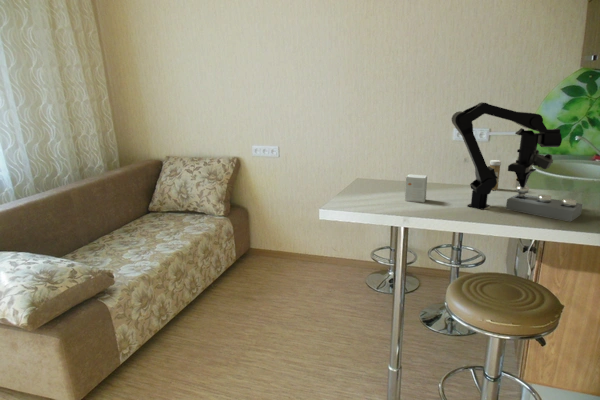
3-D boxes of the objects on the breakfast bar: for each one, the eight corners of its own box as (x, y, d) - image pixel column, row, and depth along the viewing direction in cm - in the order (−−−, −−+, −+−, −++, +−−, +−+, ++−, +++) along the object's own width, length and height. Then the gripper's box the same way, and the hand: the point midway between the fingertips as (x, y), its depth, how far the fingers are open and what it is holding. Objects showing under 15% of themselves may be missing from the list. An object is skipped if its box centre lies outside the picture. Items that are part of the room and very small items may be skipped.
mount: (570, 221, 142) (572, 210, 141) (505, 209, 158) (507, 199, 157) (580, 214, 150) (582, 204, 149) (517, 202, 166) (519, 193, 165)
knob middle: (547, 210, 151) (549, 198, 149) (534, 208, 154) (536, 196, 153) (551, 208, 154) (553, 196, 152) (538, 206, 157) (540, 194, 155)
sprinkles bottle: (499, 189, 188) (503, 160, 184) (494, 190, 185) (497, 161, 182) (490, 187, 191) (493, 159, 188) (485, 188, 189) (488, 160, 185)
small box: (426, 199, 173) (427, 175, 170) (424, 202, 168) (425, 178, 166) (407, 197, 177) (408, 173, 174) (404, 200, 172) (405, 176, 169)
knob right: (572, 215, 145) (574, 202, 144) (558, 213, 148) (560, 200, 147) (575, 212, 148) (578, 200, 147) (562, 210, 151) (564, 198, 150)
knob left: (525, 201, 156) (526, 189, 155) (513, 199, 159) (514, 187, 158) (529, 198, 159) (531, 187, 157) (517, 196, 162) (518, 185, 161)
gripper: (543, 152, 142) (536, 195, 146) (560, 146, 154) (553, 186, 158) (509, 148, 150) (504, 189, 154) (528, 143, 162) (523, 181, 166)
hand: (522, 187), depth 158 cm, fingers closed, pressing on knob left
